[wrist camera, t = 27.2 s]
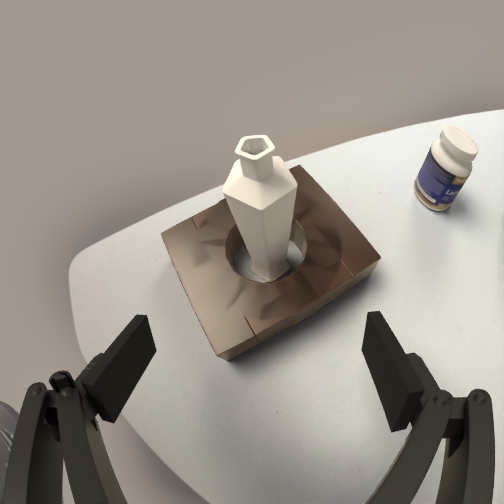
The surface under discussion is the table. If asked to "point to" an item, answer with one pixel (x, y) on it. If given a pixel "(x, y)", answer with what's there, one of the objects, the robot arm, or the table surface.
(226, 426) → the table surface
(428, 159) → the pill bottle
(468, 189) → the table surface
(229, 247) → the hole plate
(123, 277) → the table surface
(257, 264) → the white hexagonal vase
